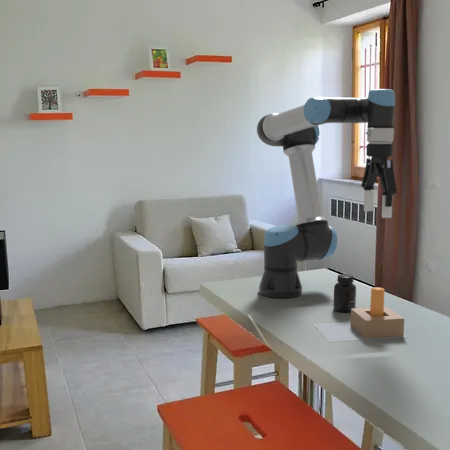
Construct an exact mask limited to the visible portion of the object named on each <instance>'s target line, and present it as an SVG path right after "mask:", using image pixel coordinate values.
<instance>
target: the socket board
mask: <svg viewBox="0 0 450 450" xmlns="http://www.w3.org/2000/svg"><path fill="white" fill-rule="evenodd" d="M312 326H314V327H315V329H316V330H317V331H318V332H319V333H320V334H321V335H322V336H323V337H324V338H325V339H326V340H327V342H328V343H338V342H354V341H355V342H356V341H372V340H373V341H374V340H389V339H403V338H407V336H406V335H405V333H404V332H405V318H404V317H403V316H401V315H400V314H398V313H397V312H396V311H394V310H393V309H392V308H390V307H388V306H384V313H383V316H377V317H371V316H370V307H357V308H356V307H355V308H353V309H351V313H350V321H343V322H342V321H341V322H323V323H312Z"/></svg>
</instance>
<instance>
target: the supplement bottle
mask: <svg viewBox="0 0 450 450" xmlns="http://www.w3.org/2000/svg"><path fill="white" fill-rule="evenodd" d="M336 281H337V283H335V285H334V286H333V305H332V306H333V311H334V312H336V313H340V314H351V309H353V308H356V307H357V306H356V303H357V286H356V285H355V284H354V275H353V274H347V273H341V274H338V275H337V279H336Z"/></svg>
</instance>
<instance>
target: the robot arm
mask: <svg viewBox="0 0 450 450" xmlns="http://www.w3.org/2000/svg"><path fill="white" fill-rule="evenodd" d="M395 109H396V96H395V91H394V90H393V89H392V88H391V89H389V88H379V89H370V90H369V91H368V96H367V97H324V96H316V97H313V96H312V97H310V98H308V99H307V100H306V102H305V103H304V104H302V105H299V106H298V107H294V108H291V109H287V110H285V111H283V112H280V113H278V112H272V113H269V114H266V115H263V117H261V118H260V119H259V121H258V122H257V125H256V134H257V136H258V138H259V139H260V141H262V143H264V144H266V145H267V146H271V147H282V150H283V154H284V155H286V156H287V157H288V161H289V168H290V173H291V180H292V186H293V193H294V199H295V206H296V212H297V218H298V220H297V223H295V225H294V224H285V225H284V224H283V225H276V226H273V227H269V228H268V229H267V230H266V231H265V233H264V240H263V256H264V257H263V260H264V261H263V264H264V265H263V266H264V267H263V273H262V276H261V280H260V283H259V285H258V293H259V294H260V295H261V296H264V297H268V298H274V299H289V298H296V297H299V296H300V295H302V294H303V285H302V282H301V279H300V276H299V272H298V263H300V262H308V261H309V262H311V261H322V260H325V259H330V258H331V257H332V256H333V255H334V254H335V251H336V250H337V247H338V235H337V232H336V230H335V228H334V227H333V226H330V225H329V221H328V219H326V218H325V217H324V216H323V213H322V207H321V199H320V193H319V187H318V182H317V181H318V180H317V176H316V169H315V164H314V158H313V152H314V150H315V149H316V145H317V143H318V142H319V139H320V128H319V126H321V125H324V124H341V123H342V124H363V123H367V127H366V128H367V129H366V130H367V131H366V132H365V135H367V137H366V141H367V142H368V143H367V144H366V155H365V156H367V157H370V158H366V161H365V168H364V172H363V176H362V180H361V186H360V187H362V188H363V191H364V192H363V193H364V194H363V200H364V201H363V212H374V198H375V197H374V193H375V192H374V190H375V184H376V181H377V178H379V181H380V185H381V187H382V191H383V192H382V194H381V196H382V201H381V218H382V219H388V218H393V217H392V215H393V196H394V195H395V194H397V192H398V190H397V189H398V188H397V185H396V184H397V183H396V180H395V179H396V178H395V173H394V160H390V159H389V160H388V158H390V157H392V156H393V154H394V153H393V152H394V145H393V142H394V139H395V138H394V134H395V127H394V124H395Z"/></svg>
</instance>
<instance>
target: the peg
mask: <svg viewBox="0 0 450 450" xmlns="http://www.w3.org/2000/svg"><path fill="white" fill-rule="evenodd" d="M384 307H385V288H383V287H378V286H377V287H371V289H370V306H369V308H370V316H371V317H377V316H383V313H384Z"/></svg>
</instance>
